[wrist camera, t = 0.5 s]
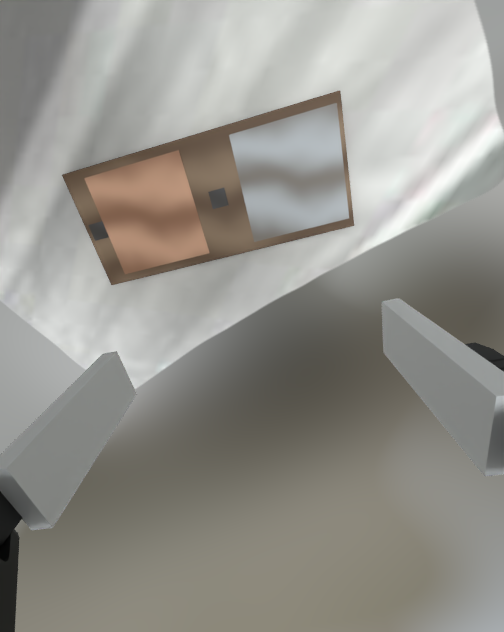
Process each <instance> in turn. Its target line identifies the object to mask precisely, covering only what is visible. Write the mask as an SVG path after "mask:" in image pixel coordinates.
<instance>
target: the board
mask: <svg viewBox="0 0 504 632" xmlns="http://www.w3.org/2000/svg"><path fill="white" fill-rule="evenodd" d="M62 176H63V178H64V181H65V183H66V185H67V187H68V189H69V192H70V194H71V196H72V198H73V200H74V203H75V205H76V207H77V209H78V212H79V214H80V216H81V218H82V220H83V223H84V225H85V227H86V229H87V232H88V234H89V236H90V238H91V240H92V243H93V245H94V247H95V249H96V251H97V254H98V256H99V258H100V260H101V263H102V265H103V267H104V269H105V271H106V274H107V276H108V278H109V280H110V283H111V285H114V284H118V283H123V282H127V281H131V280H135V279H139V278H143V277H147V276H151V275H155V274H159V273H163V272H167V271H171V270H175V269H179V268H183V267H188V266H192V265H196V264H200V263H204V262H208V261H212V260H216V259H220V258H224V257H228V256H232V255H236V254H240V253H244V252H248V251H253V250H257V249H261V248H265V247H269V246H273V245H277V244H281V243H285V242H289V241H293V240H297V239H301V238H305V237H309V236H313V235H318V234H322V233H326V232H330V231H334V230H338V229H342V228H346V227H350V226H354V220H353V210H352V201H351V191H350V181H349V172H348V162H347V152H346V142H345V133H344V123H343V113H342V103H341V94H340V91H336V92H333V93H330V94H327V95H323V96H320V97H317V98H313V99H310V100H307V101H304V102H300V103H297V104H294V105H290V106H287V107H284V108H281V109H277V110H274V111H271V112H267V113H264V114H261V115H257V116H254V117H251V118H248V119H244V120H241V121H238V122H234V123H231V124H228V125H225V126H221V127H218V128H215V129H211V130H208V131H205V132H202V133H198V134H195V135H192V136H188V137H185V138H182V139H179V140H175V141H172V142H169V143H165V144H162V145H159V146H155V147H152V148H149V149H146V150H142V151H139V152H136V153H132V154H129V155H126V156H123V157H119V158H116V159H113V160H109V161H106V162H103V163H100V164H96V165H93V166H90V167H86V168H83V169H80V170H77V171H73V172H70V173H67V174H63V175H62Z"/></svg>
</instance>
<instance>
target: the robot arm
mask: <svg viewBox="0 0 504 632" xmlns="http://www.w3.org/2000/svg"><path fill="white" fill-rule="evenodd" d="M382 323H383V324H382V325H383V348H384V354H385V355H386V356H387V357H388V359H389V360H390V361H391V362H392V364H393V365H394V366H395V367H396V368H397V370H398V371H399V372H400V373H401V375H402V376H403V377H404V378H405V379H406V381H407V382H408V383H409V384H410V385H411V387H412V388H413V389H414V391H415V392H416V393H417V394H418V395H419V397H420V398H421V399H422V400H423V402H424V403H425V404H426V405H427V406H428V408H429V409H430V410H431V411H432V413H433V414H434V415H435V416H436V417H437V419H438V420H439V421H440V422H441V424H442V425H443V426H444V427H445V429H446V430H447V431H448V432H449V433H450V435H451V436H452V437H453V438H454V440H455V441H456V442H457V443H458V444H459V446H460V447H461V448H462V449H463V451H464V452H465V453H466V454H467V455H468V457H469V458H470V459H471V460H472V462H473V463H474V464H475V465H476V466H477V468H478V469H479V470H480V471H481V472H482V474H483V475H484V476H492V475H501V474H504V356H503V355H501V354H500V353H498V352H497V351H495V350H494V349H491V348H489V347H486V346H483V345H480V344H477V343H470V344H463V343H462V342H461V341H459V340H458V339H456V338H455V337H453V336H452V335H450V334H449V333H448V332H446V331H445V330H443V329H442V328H440V327H439V326H438V325H436V324H435V323H433V322H432V321H431V320H429V319H428V318H426V317H425V316H423V315H422V314H420V313H419V312H418V311H416V310H415V309H413V308H412V307H411V306H409V305H408V304H406V303H405V302H404V301H402V300H401V299H399V298H397V299H392V300H386V301H382ZM136 395H137V394H136V392H135V389H134V387H133V385H132V383H131V381H130V379H129V377H128V374H127V372H126V370H125V368H124V366H123V364H122V361H121V359H120V357H119V355H118V353H117V351H116V352H111V353H105V354H102V355H101V356H100V357H99V358H98V359H97V360H96V361H95V362H94V363H93V364H92V365H91V366H90V367H89V368H88V369H87V370H86V371H85V372H84V373H83V374H82V375H81V376H80V377H79V378H78V379H77V380H76V381H75V382H74V383H73V384H72V385H71V386H70V387H69V388H68V389H67V390H66V391H65V392H64V393H63V394H62V395H61V396H60V397H59V398H58V399H57V400H56V401H55V402H53V404H51V405H50V406H49V407H48V408H47V409H46V410H45V411H44V412H43V413H42V414H41V415H40V416H39V417H38V418H37V419H36V420H35V421H34V422H33V423H32V424H31V425H30V426H29V427H28V428H27V429H26V430H25V431H24V432H23V433H22V434H21V435H20V436H19V437H18V438H17V439H16V440H15V441H14V442H13V443H12V444H11V445H10V446H9V447H8V448H7V449H6V450H5V451H4V452H3V453H2V454H0V632H15V613H16V593H17V574H18V554H19V553H18V552H19V536H18V533H17V532H16V531H15V530H14V528H15V527H16V526H17V524H18V523H19V522H20V520H21V519H23V521H24V522H25V523H26V524H27V525H28V526H29V527H30V529H31V530H38V529H46V528H53V526H54V525H55V523H56V522H57V520H58V519H59V517H60V515H61V514H62V512H63V510H64V509H65V508H66V506H67V504H68V503H69V501H70V500H71V498H72V496H73V495H74V493H75V492H76V490H77V489H78V487H79V485H80V484H81V482H82V481H83V479H84V477H85V475H86V474H87V473H88V471H89V469H90V468H91V466H92V465H93V463H94V462H95V460H96V458H97V457H98V455H99V454H100V452H101V450H102V449H103V447H104V446H105V444H106V443H107V441H108V439H109V437H110V436H111V435H112V433H113V431H114V430H115V428H116V427H117V425H118V423H119V422H120V420H121V418H122V417H123V416H124V414H125V412H126V411H127V409H128V408H129V406H130V404H131V403H132V401H133V400H134V398H135V397H136Z"/></svg>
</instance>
